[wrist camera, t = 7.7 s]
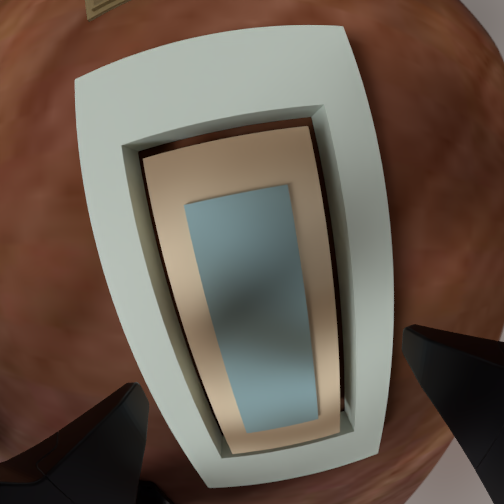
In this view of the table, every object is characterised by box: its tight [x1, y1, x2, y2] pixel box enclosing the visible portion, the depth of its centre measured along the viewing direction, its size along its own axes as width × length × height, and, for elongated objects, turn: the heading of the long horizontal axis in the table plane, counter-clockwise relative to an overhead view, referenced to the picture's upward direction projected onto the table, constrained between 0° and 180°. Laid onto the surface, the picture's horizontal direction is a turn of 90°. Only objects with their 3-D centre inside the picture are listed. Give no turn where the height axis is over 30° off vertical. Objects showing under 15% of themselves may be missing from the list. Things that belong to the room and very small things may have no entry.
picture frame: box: [143, 126, 340, 454], centre depth 12 cm, size 15×6×3 cm, turn 11°
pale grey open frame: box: [75, 25, 394, 488], centre depth 12 cm, size 25×12×2 cm, turn 11°
